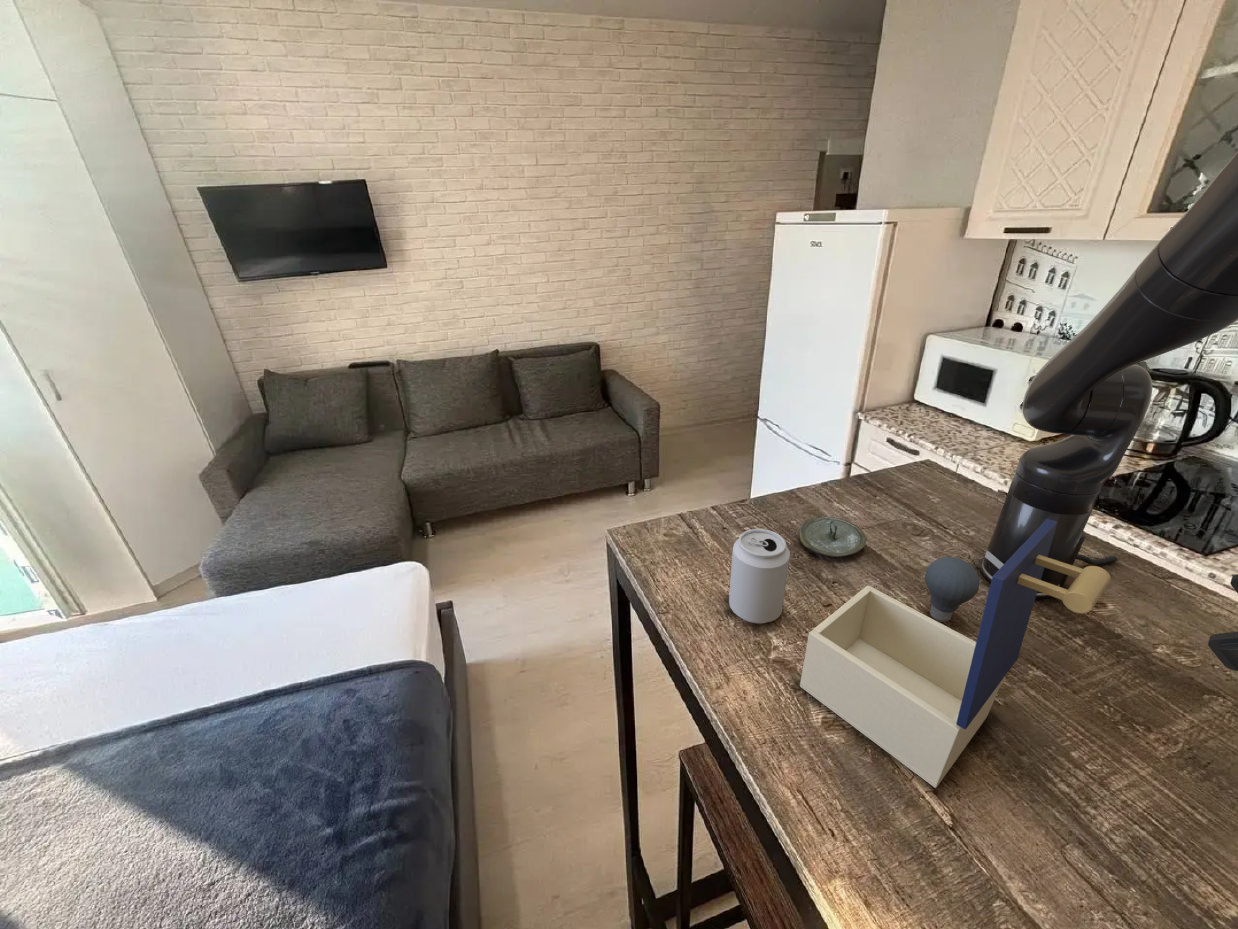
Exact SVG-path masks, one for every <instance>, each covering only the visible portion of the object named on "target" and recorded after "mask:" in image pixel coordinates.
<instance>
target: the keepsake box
mask: <svg viewBox="0 0 1238 929" xmlns="http://www.w3.org/2000/svg"><path fill="white" fill-rule="evenodd" d="M975 645H976V640H974V639H971V638H969V637H967V636H966V635H964V634H962V633H960V632H958V631H956V630H954V629H953V628H950V627H949V626H946V625H945V624H943V623H942V622H940V621H937V620H936V619H934V618H932V617H929V616H928V615H926V614H924V613H921V612H920V611H918V610H916V609H915V608H912V607H910V606H909V605H907V604H905V603H903V602H901V601H899V600H897V599H896V598H893V597H892V596H890V595H887V594H886V593H884V592H882V591H880V590H878V589H876V588H875V587H874V586H873V587H872V586H871V585H869V584H868V585H865V587H863V588H862V589H861V590H860V591H858V592H857V593H856V594H855V595H854V596H852V597H851V598H850V599H849V600H848V601H846V602H845V603H843V605H841V606H840V607H838V609H836V610H835V611H834V612H832V613H831V614H830V615H829V616H828V617H827V618H825V619H824V620H823V621H822V622H820V623H819V624H818V625H817V626H816V627H814V628H813V629H812V630H811V631H809V633H808V637H807V642H806V649H805V653H804V660H803V666H802V671H801V677H800V682H799V687H800V688H801V689H802V690H804V691H806V693H808V694H809V695H811V696H812V697H813V698H814V699H816V700H817V701H819V702H820V703H821V704H822V705H824V706H825V707H826V708H828V709H829V710H830V711H832V712H833V713H834V714H835V715H838V717H840V718H841V719H843V720H844V721H845V722H846V723H848V724H849V725H851V727H853V728H854V729H855V730H857V731H858V732H860V733H861V734H862V735H864V736H865V737H866V738H868V739H869V740H871V741H872V742H873V743H874V744H876V745H877V746H878V747H880V748H881V749H883V750H884V751H885V752H887V754H889V755H891V756H892V757H893V758H894V759H896V760H897V761H898V762H900V763H901V764H903V765H904V766H905V767H907V769H909V770H911V771H912V772H913V773H915V774H916V775H917V776H919V777H920V778H921V779H922V780H923V781H925V782H926V783H928V784H929V785H930V786H932V787H933V788H934V789H937V787H938V786H939V785H940V784H941V782H942V780H943V779H944V778H945V776H946V775H947V773H948V772H949V771H950V769H951V768H952V766H954V764H955V763H956V761H957V759H958V758H959V757H960V756H961V754H962V752H963V751H964V750H965V748H966V747H967V746H968V744H969V743H970V741H971V740H972V739H973V738H974V736H975V735H976V733H977V732H978V730H979V729H980V727H981V726H982V725H983V723H984V722H985V721H986V719H987V717H988V715H989V713H990V711H991V709H992V707H993V704H994V701H995V699H996V698H997V695H998V693H999V690H1000V688H1001V686H1002V683H1003V682H1004V679H1005V677H1004V678H1003V680H1002V681H1001V682H1000V684H999V685H998V686H997V688H996V689H995V690H994V692H993V693H992V694H991V696H990V697H989V699H988V700H987V701H986V703H985V704H984V705H983V707H982V708H981V709H980V711H979V712H978V714H977V715H976V716H975V718H974V719H973V720H972V722H971V723H970V724H969V726H968V727H967V728H966V729H963V728H961V727H960V726H958V725H957V724H956V722H957V718H958V714H959V710H960V706H961V702H962V698H963V694H964V690H965V686H966V682H967V678H968V674H969V670H970V666H971V662H972V658H973V653H974V649H975Z"/></svg>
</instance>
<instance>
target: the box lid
mask: <svg viewBox="0 0 1238 929" xmlns="http://www.w3.org/2000/svg"><path fill="white" fill-rule="evenodd" d="M1057 523H1058V522H1057V521H1054V520H1050V519H1047V520H1046V521H1045V522H1044V523H1043V524H1042V525H1041V526H1040V527H1039V528H1038V529H1037V530H1036V531H1035V532H1034V533H1033V534H1032V535H1031V536H1030V538H1029V539H1028V540H1027V541H1026V542H1025V543H1024V544H1023V545H1022V546H1021V547H1020V548H1019V549H1018V550H1017V551H1016V552H1015V553H1014V554H1013V555H1012V556H1011V557H1010V559H1009V560H1008V561H1007V562H1006V563H1005V564H1004V565H1003V566H1002V567H1001V568H1000V569H999V570H998V571H997V572H996V573H995V574H994V575H993V576H992V581H991V582H990V585H989V588H988V589H989V590H988V593H987V597H986V601H985V605H984V610H983V613H982V618H981V622H980V625H979V629H978V633H977V637H976V640H975V642H976V645H975V649H974V653H973V658H972V662H971V666H970V670H969V674H968V678H967V682H966V686H965V690H964V694H963V698H962V702H961V706H960V710H959V714H958V718H957V722H956V724H957V725H958V726H960V727H961V728H963V729H966V728H967V727H968V726H969V724H970V723H971V722H972V720H973V719H974V718H975V716H976V715H977V714H978V712H979V711H980V709H981V708H982V707H983V705H984V704H985V703H986V701H987V700H988V699H989V697H990V696H991V694H992V693H993V692H994V690H995V689H996V688H997V686H998V685H999V684H1000V682H1001V681H1002V680H1003V681H1004V679H1005V677H1006V676H1007V674H1008V673H1009V672H1010V671H1011V669H1012V668H1013V666H1014V665H1015V663H1016V662H1017V661H1018V658H1019V656H1020V652H1021V648H1022V645H1023V641H1024V639H1025V635H1026V632H1027V628H1028V626H1029V625H1028V624H1029V621H1030V619H1031V614H1032V611H1033V607H1034V604H1035V601H1036V599H1035V598H1036V594H1037V591H1039V592H1042V593H1044V594H1047V595H1050V596H1052V597H1053V598H1055V599H1058V600H1062V604H1063V605H1064V606H1065V607H1066V608H1067V609H1068V610H1070V611H1071V612H1074V613H1077V614H1087V613H1090V612H1091V611H1092V610H1093V609H1094V608H1095V606H1096V604H1097V603H1098V601H1099V599H1100V598H1101V596H1102V595H1103V593H1104V592H1105V590H1106V589H1107V587H1108V586H1109V584H1110V582H1111V578H1112V577H1111V575H1110V573H1109V572H1108V571H1107V570H1106V569H1104V568H1102V567H1100V566H1098V565H1088V566H1085V567H1084V568H1081V567H1078V566H1076V565H1073V566H1072V565H1069V564H1066V563H1063V562H1060V561H1057V560H1054V559H1051V558H1048V553H1049V550H1050V547H1051V543H1052V540H1053V536H1054V533H1055V529H1056V526H1057ZM1044 567H1045V568H1048V569H1051V570H1054V571H1057V572H1060V573H1063V574H1066V575H1068V577H1069V576H1070V577H1072V578H1075V579H1074V581H1073V582H1072V583H1071V584H1070V586H1069V587H1068V589H1067V588H1064V587H1063V588H1061V587H1058V586H1056V585H1053V584H1050V583H1047V582H1044V581H1042V580H1041V577H1042V574H1043V570H1044ZM1003 678H1004V679H1003ZM1003 681H1002V682H1003Z"/></svg>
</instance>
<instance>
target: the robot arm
mask: <svg viewBox="0 0 1238 929" xmlns="http://www.w3.org/2000/svg"><path fill="white" fill-rule="evenodd" d="M1236 322H1238V151H1236V153H1235V154H1233V156H1232V157H1231V159H1229V161H1228V162H1227V163H1226V164H1225V165H1224V167H1223V168H1222V169H1221V171H1219V173H1218V174H1217V175H1216V176H1215V177H1214V179H1213V180H1212V181H1211V182H1210V183H1209V185H1208V186H1207V187H1206V189H1204V191H1203V192H1202V193H1201V194H1200V196H1199V197H1198V198H1197V199H1196V200H1195V202H1193V204H1192V205H1191V206H1190V207H1189V208H1188V210H1187V211H1186V212H1185V213H1184V214H1183V215H1182V216H1181V217H1180V218H1179V220H1177V221H1176V222H1175V224H1173V226H1172V227H1171V228H1170V229H1169V230H1168V231H1167V232H1166V233H1165V234H1164V236H1163V237H1162V238H1161V239H1160V240H1159V241H1158V242H1157V243H1156V245H1155V246H1154V247H1153V248H1152V249H1151V251H1150V252H1149V253H1148V254H1147V255H1146V256H1145V257H1144V259H1143V260H1142V261H1141V262H1140V264H1139V265H1138V266H1137V267H1136V268H1135V270H1134V271H1133V272H1132V274H1130V276H1129V277H1128V278H1127V279H1126V281H1125V282H1124V284H1122V286H1121V287H1120V288H1119V289H1118V290H1117V292H1116V293H1115V294H1114V295H1113V296H1112V297H1111V299H1109V300H1108V302H1107V303H1106V304H1105V305H1104V306H1103V307H1102V308H1101V310H1100V311H1099V312H1098V313H1097V314H1096V315H1095V316H1094V317H1093V318H1092V319H1091V320H1090V321H1089V322H1088V323H1087V325H1086V326H1084V328H1082V329H1081V330H1080V331H1079V332H1078V333H1077V334H1076V335H1075V336H1074V337H1073V338H1072V339H1070V340H1069V341H1068V342H1067V343H1066V344H1065V345H1064V346H1063V347H1062V348H1061V349H1059V350H1058V352H1056V353H1055V354H1054V355H1053V356H1052V357H1051V358H1050V359H1049V360H1048V361H1047V362H1045V363H1044V365H1043V366H1042V367H1041V368H1040V369H1039V370H1038V372H1036V374H1035V375H1034V377H1033V378H1032V380H1031V381H1030V383H1029V384H1028V387H1027V389H1026V391H1025V393H1024V396H1023V401H1022V407H1021V409H1022V415H1023V418H1024V420H1025V422H1026V423H1027V424H1028V425H1029V426H1030V427H1032V428H1034V429H1035V430H1037V431H1041V432H1045V433H1050V434H1056V435H1069V436H1067V437H1065V438H1063V439H1061V440H1058V441H1055V442H1052V443H1047V444H1043V445H1038V446H1034V447H1031V448H1029V449H1027V450H1025V451H1024V452H1023V453H1022V454H1021V455H1020V458H1019V459H1018V461H1017V462H1018V463H1017V465H1016V468H1015V471H1014V474H1013V477H1012V480H1011V483H1010V486H1009V488H1008V491H1007V495H1006V497H1005V500H1004V502H1003V504H1002V508H1001V511H1000V513H999V516H998V519H997V521H996V525H995V527H994V530H993V533H992V535H991V538H990V541H989V544H988V546H987V550H986V552H985V555H984V557H983V559H982V561H981V564H980V571H981V574H982V575H983V577H984V578H985V579H986V580H987V581H988V582H989V583H991V581H992V576H993V575H994V574H995V573H996V572H997V571H998V570H999V569H1000V568H1001V567H1002V566H1003V565H1004V564H1005V563H1006V562H1007V561H1008V560H1009V559H1010V557H1011V556H1012V555H1013V554H1014V553H1015V552H1016V551H1017V550H1018V549H1019V548H1020V547H1021V546H1022V545H1023V544H1024V543H1025V542H1026V541H1027V540H1028V539H1029V538H1030V536H1031V535H1032V534H1033V533H1034V532H1035V531H1036V530H1037V529H1038V528H1039V527H1040V526H1041V525H1042V524H1043V523H1044V522H1045V521H1046V520H1047V519H1050V520H1054V521H1057V522H1058V523H1057V526H1056V529H1055V533H1054V536H1053V540H1052V543H1051V547H1050V550H1049V553H1048V558H1051V559H1054V560H1057V561H1060V562H1063V563H1066V564H1069V565H1072V566H1074V564H1075V562H1076V560H1077V561H1082V562H1084V563H1086V564H1088V565H1089V566H1101V565H1106V564H1111V563H1114V562H1117V561H1118V557H1117V556H1115V555H1112V556H1106V557H1103V558H1098V559H1092V558H1090V557H1089V556H1087V555H1084V554H1081V553H1080V550H1081V548H1082V546H1083V544H1084V542H1085V540H1086V533H1085V532H1084V530H1085V529H1086V526H1087V524H1088V521H1089V520H1090V517H1091V514H1092V513H1093V510H1094V507H1095V505H1096V503H1097V501H1098V499H1099V496H1100V494H1101V492H1102V490H1103V489H1104V486H1105V483H1106V482H1107V481H1108V480H1109V479H1110V478H1111V477H1112V476H1113V475H1114V474H1115V472H1116V471H1117V470H1118V468H1119V466H1120V464H1121V462H1122V460H1123V458H1124V457H1125V454H1126V452H1127V451H1128V448H1129V447H1130V445H1131V443H1132V442H1133V439H1134V438H1135V436H1136V434H1137V432H1138V431H1139V429H1140V427H1141V425H1142V423H1143V420H1144V419H1145V417H1146V414H1147V412H1148V410H1149V407H1150V404H1151V400H1152V395H1153V381H1152V377H1151V375H1150V373H1149V372H1148V370H1147V369H1146V368H1144V367H1143V366H1141V365H1139V363H1141V362H1144V361H1147V360H1150V359H1153V358H1156V357H1158V356H1161V355H1165V354H1166V353H1170V352H1172V351H1175V350H1177V349H1180V348H1183V347H1185V346H1188V345H1191V344H1193V343H1195V342H1198V341H1200V340H1203V339H1204V338H1208V337H1209V336H1212V335H1215V334H1217V333H1219V332H1220V331H1222V330H1225V329H1227V328H1228V327H1230V326H1232V325H1233V324H1234V323H1236ZM1068 577H1069V575H1066V574H1063V573H1060V572H1057V571H1054V570H1051V569H1048V568H1045V567H1044V570H1043V574H1042V577H1041V580H1042V581H1044V582H1047V583H1050V584H1053V585H1056V586H1058V587H1061V588H1064V586H1065V583H1066V582H1067V579H1068ZM1230 586H1231V587H1232V588H1233V589H1234V591H1235V592H1236V593H1237V594H1238V573H1237V574H1236V573H1235V574H1234V575H1232V577H1231V580H1230ZM1052 597H1053V596H1050V595H1047V594H1044V593H1042V592H1039V591H1037V594H1036V598H1035V600H1036V599H1037V600H1043V599H1049V598H1052ZM1207 646H1208V647H1209V649H1210V651H1211V652H1212V653H1213V654H1214V655H1215V656H1216V657H1217V659H1218V660H1219V661H1220V662H1221V663H1222V665H1223V666H1224V667H1225V668H1227V669H1229V670H1231V671H1236V672H1238V631H1230V632H1222V633H1221V632H1220V633H1214V634H1211V635H1210V637H1209V639H1208V642H1207Z"/></svg>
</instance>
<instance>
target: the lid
mask: <svg viewBox="0 0 1238 929" xmlns="http://www.w3.org/2000/svg"><path fill="white" fill-rule="evenodd" d="M798 536H799V540H800V543H801V544H802V545H803V546H804V547H805V548H806V549H808V550H810V551H812V552H813V553H815V554H818V555H822V556H826V557H831V558H842V557H848V556H852V555H855V554H858V553H859V552H860V551H861V550H863V548H864V547H866V544H867V536H866V534H865V533H864V531H863V529H862V528H860V527H859V526H858V525H856V524H855V523H852V522H851V521H848V520H846V519H844V518H841V517H834V516H819V517H813V518H810V519H807V520H806V521H805V522H803V523H802V524H801V526H800V528H799V535H798Z"/></svg>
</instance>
